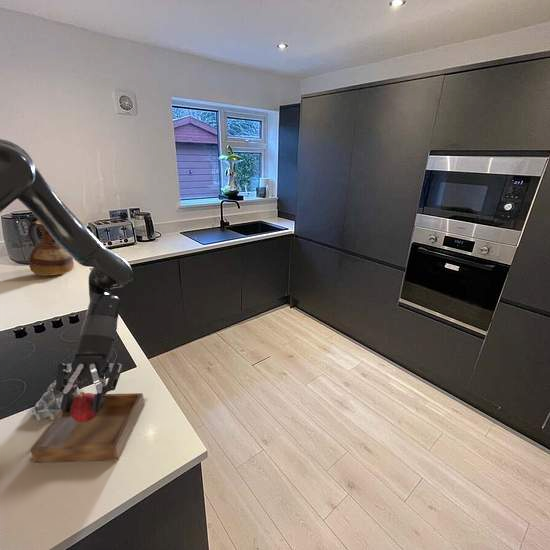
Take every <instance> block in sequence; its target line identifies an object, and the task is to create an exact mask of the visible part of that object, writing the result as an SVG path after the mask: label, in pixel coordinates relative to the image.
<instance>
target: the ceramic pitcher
mask: <svg viewBox="0 0 550 550" xmlns="http://www.w3.org/2000/svg"><path fill="white" fill-rule="evenodd" d="M37 228H39V229H40V231H41V241H40V239H39V237H38V234H37ZM28 236H29V238H30V241H31V242H32V244H33V248H32V250H31V252H30V255H29V258H28V267H29V269H30V270H31V273H33V274H34V275H38V276H43V277H45V276H49V275H50V276H57V274H58V275H63V274H66V273H69V272H71V271H73V269H74V265H75V263H74V259H73V258H72V257H71V256H70V255H69V254H68V253H67V252H66V251H65V250H64V249H63V248H62V247H61V246H60V245H59V244H58V243H57V242H56V241H55V240H54V238H53V237H52V236H51V235H50V234H49V232H48V231H47V230H46V228H45V227H44V226H43V225H42V224H41V222H40V221H39V220H38V219H37V220H35V221H33V222H31V223H30V224H29V226H28Z"/></svg>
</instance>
